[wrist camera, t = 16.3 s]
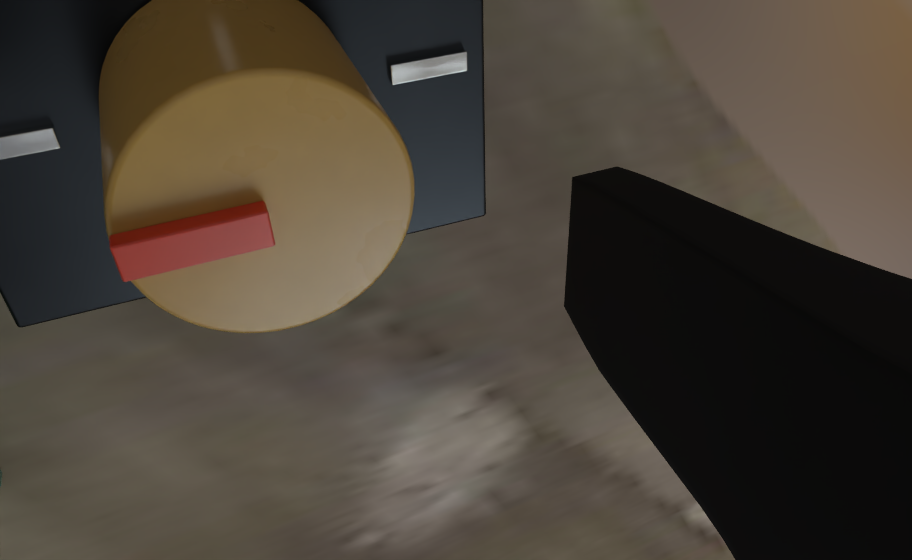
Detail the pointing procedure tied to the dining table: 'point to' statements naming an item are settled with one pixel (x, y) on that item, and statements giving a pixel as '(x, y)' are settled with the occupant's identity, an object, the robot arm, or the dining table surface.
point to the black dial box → (79, 144)
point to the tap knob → (246, 165)
